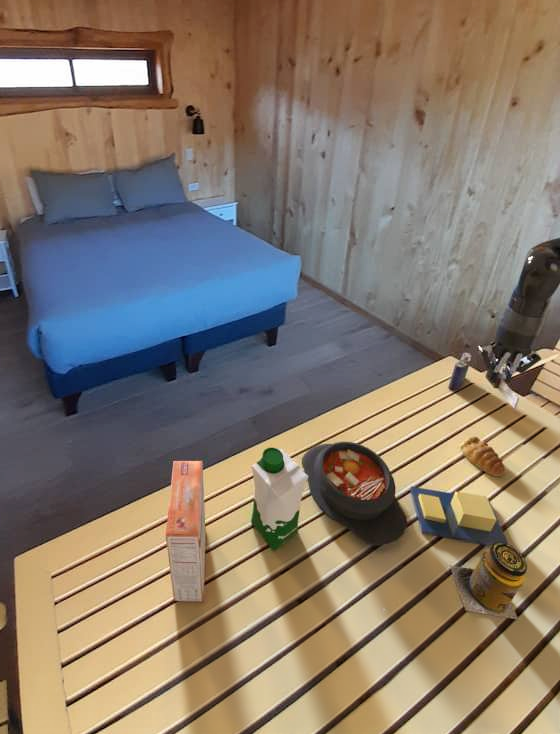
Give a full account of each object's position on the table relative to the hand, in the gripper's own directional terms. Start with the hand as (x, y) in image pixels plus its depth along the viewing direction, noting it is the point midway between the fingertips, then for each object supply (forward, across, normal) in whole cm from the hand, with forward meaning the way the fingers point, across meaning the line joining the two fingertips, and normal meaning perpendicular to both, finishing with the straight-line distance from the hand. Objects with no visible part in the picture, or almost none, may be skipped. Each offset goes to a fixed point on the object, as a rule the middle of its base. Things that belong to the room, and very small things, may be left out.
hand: (497, 381), depth 102 cm
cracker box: (+14, -70, -49) cm, 87 cm away
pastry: (+15, -5, -13) cm, 20 cm away
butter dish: (+14, -14, -30) cm, 36 cm away
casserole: (+14, -37, -28) cm, 49 cm away
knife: (+1, 0, -3) cm, 3 cm away
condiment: (+15, -16, -44) cm, 49 cm away
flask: (+15, -1, +15) cm, 21 cm away
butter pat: (+13, -19, -30) cm, 37 cm away
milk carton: (+14, -54, -39) cm, 68 cm away
